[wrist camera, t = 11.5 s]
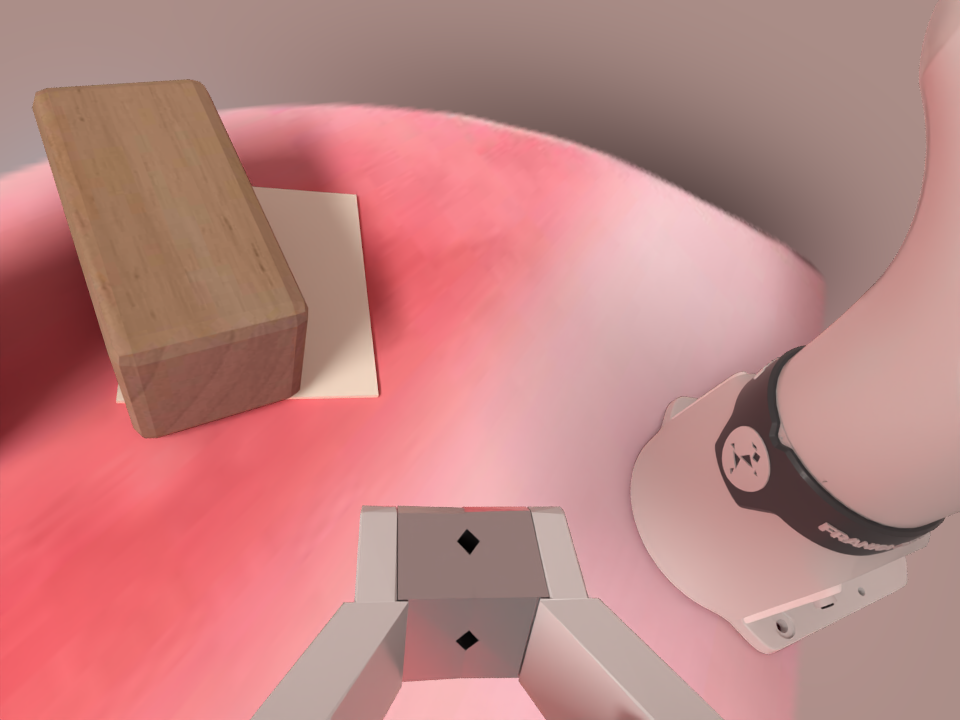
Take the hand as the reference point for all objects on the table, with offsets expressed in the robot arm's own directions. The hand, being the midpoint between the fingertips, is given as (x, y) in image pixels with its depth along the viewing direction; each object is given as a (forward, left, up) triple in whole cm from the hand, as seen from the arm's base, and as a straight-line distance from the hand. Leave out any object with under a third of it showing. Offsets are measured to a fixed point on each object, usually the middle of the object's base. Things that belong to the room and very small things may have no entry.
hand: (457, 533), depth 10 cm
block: (+4, -17, -25) cm, 30 cm away
